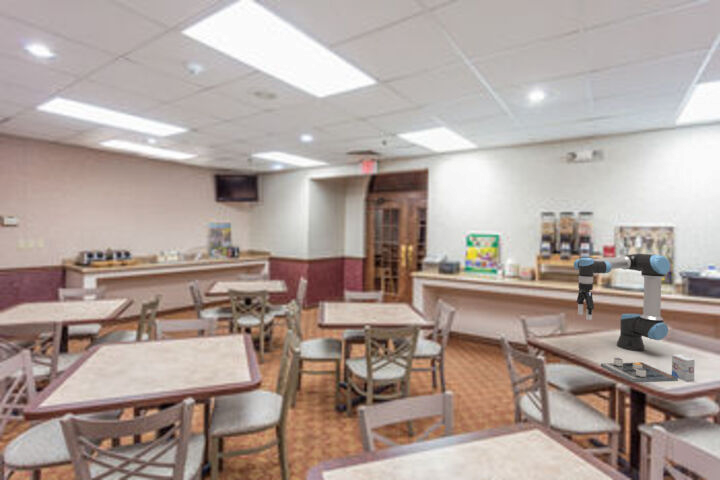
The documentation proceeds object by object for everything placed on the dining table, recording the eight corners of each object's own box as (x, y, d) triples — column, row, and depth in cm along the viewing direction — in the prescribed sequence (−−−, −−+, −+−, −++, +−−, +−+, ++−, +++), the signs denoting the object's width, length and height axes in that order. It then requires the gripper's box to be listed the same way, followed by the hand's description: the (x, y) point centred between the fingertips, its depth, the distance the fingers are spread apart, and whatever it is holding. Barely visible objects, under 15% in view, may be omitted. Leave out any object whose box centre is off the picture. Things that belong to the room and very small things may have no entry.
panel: (641, 364, 211) (641, 362, 211) (677, 380, 189) (677, 377, 189) (600, 366, 209) (600, 363, 209) (632, 382, 187) (632, 379, 187)
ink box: (670, 375, 197) (671, 354, 196) (679, 374, 197) (679, 353, 197) (686, 381, 188) (686, 359, 188) (694, 381, 189) (695, 359, 188)
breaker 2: (641, 374, 193) (641, 367, 193) (645, 376, 190) (646, 369, 190) (635, 374, 193) (636, 367, 192) (640, 376, 190) (640, 370, 189)
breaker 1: (618, 363, 208) (618, 357, 208) (622, 365, 205) (623, 359, 205) (613, 363, 208) (614, 357, 207) (618, 365, 205) (618, 359, 204)
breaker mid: (637, 368, 201) (637, 362, 201) (642, 370, 198) (642, 364, 198) (632, 368, 200) (632, 362, 200) (637, 370, 197) (637, 364, 197)
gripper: (571, 279, 232) (570, 312, 233) (587, 285, 208) (585, 321, 208) (584, 280, 230) (583, 312, 231) (601, 286, 206) (600, 322, 207)
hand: (584, 317), depth 220 cm, fingers open, 13 cm apart
